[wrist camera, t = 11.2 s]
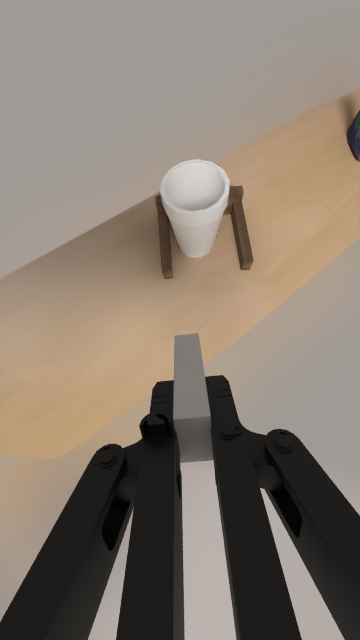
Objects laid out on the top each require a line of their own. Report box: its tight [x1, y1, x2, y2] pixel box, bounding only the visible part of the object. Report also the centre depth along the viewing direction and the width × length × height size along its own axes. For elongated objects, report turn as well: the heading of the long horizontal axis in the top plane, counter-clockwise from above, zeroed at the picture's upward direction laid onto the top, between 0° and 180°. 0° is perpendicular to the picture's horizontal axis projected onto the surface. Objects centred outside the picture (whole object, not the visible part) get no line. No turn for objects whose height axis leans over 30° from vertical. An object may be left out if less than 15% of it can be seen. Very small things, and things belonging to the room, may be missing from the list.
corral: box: [156, 186, 253, 279], centre depth 44 cm, size 15×14×5 cm
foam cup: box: [160, 159, 230, 258], centre depth 41 cm, size 10×9×13 cm
